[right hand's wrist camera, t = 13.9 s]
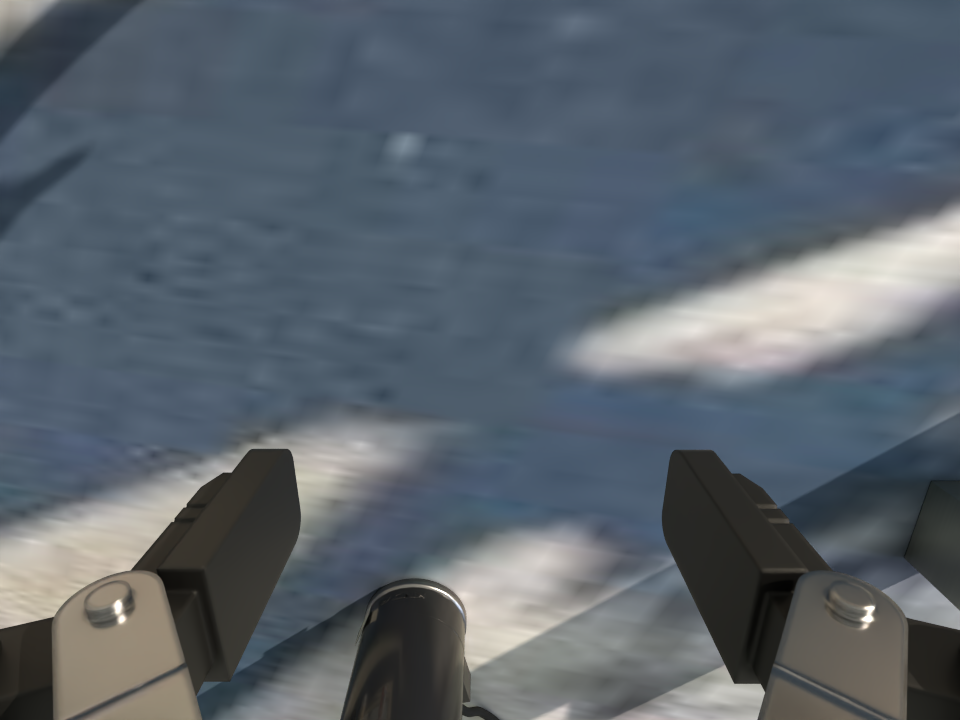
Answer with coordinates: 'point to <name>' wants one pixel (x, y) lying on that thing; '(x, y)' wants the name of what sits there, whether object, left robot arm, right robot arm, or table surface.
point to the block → (939, 539)
